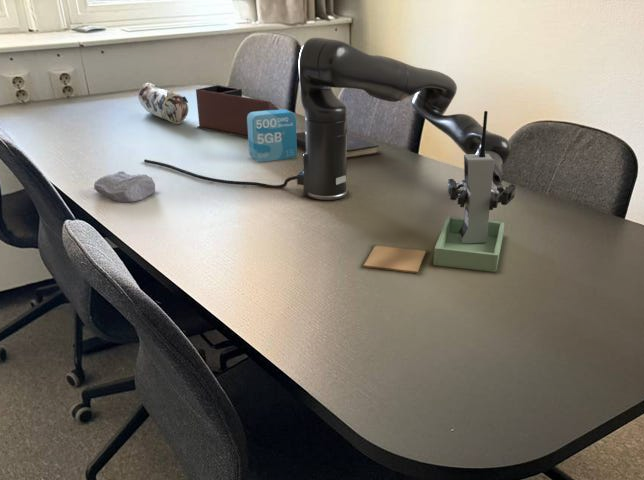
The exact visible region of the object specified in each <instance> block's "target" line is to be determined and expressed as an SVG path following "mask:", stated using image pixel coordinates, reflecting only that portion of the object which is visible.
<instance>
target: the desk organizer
mask: <svg viewBox="0 0 644 480" xmlns="http://www.w3.org/2000/svg"><path fill="white" fill-rule="evenodd" d="M195 94H196V97H195V98H196V105H197V115H198V116H197V117H198V126H197V129H202V130H206V131H212V132H217V133H222V134H226V135H227V134H228V135H232V136H237V137H241V138H242V137H243V138H247V139H248V125H247V116H248V114H249V113H250V112H256V111H268V110H280V108H278V107H277V106H276V105H275V104H274V103H273V102H271V101H269V100H263V99H257V98H251V97H245V96H243V89H242V88H237V87H232V86H226V85H220V84H216V85H215V84H214V85H211V86H206V87H201V88H196V89H195Z"/></svg>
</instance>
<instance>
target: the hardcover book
mask: <svg viewBox="0 0 644 480" xmlns="http://www.w3.org/2000/svg"><path fill="white" fill-rule="evenodd" d="M296 136H297V148H300V149H303V150H305V151H306V137H305V131H302V132H296ZM379 147H380V146H379V145H378V144H377V143H373V142H370V141H367V140H366V139H363V138H360V137H358V136H355V135H353V134H350V133H348V132H347V160H348V159H354V158H355V159H356V158H361V157H368V156H374V155H379V152H378V151H377V150H378V148H379Z"/></svg>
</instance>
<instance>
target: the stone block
mask: <svg viewBox="0 0 644 480" xmlns="http://www.w3.org/2000/svg"><path fill="white" fill-rule="evenodd" d="M154 181H155V180H153V177H151V176H149V175H148V174H144V173H143V174H140V173H136V174H132V175H131V174H128V173H126V172H125V171H118V172H117V173H116V172H115V173H111V174H106V175H103V176H100V177H99V178H98V179H97V180H95V181H94V183H93V184H94V187H93V188H94V190H95V191H96V193H98V194H99V195H102V196H103V197H106V198H108V199H111V200H113V201H116V202H118V203H132V202H138V201H143V200H144V199H146V198H148V197H150V196H152V195H154V194H155V193H156V183H155V182H154Z"/></svg>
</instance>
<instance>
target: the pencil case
mask: <svg viewBox="0 0 644 480" xmlns="http://www.w3.org/2000/svg"><path fill="white" fill-rule="evenodd" d="M138 101H139V103H140V105H141V106H142V107H143V108H144V109H145V111H146V112H148V113H150V114H152V115H154V116H156V117H159V118H160V119H163V120H165V121H168V122H170V123H172V124H178V125H179V124H181V123H183V122H184V121H185V119H186V118H187V116H188V113H189V105H188V103H189V101H188V99H187V97H186V96H183V95H182V94H179V93H176V92H174V90H170V91H168V90H167V89H163V88H160V87H159V86H158V85H157V84H154V83H151V82H146V83H143V84H142V87H141V88H140V89H139V91H138Z"/></svg>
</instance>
